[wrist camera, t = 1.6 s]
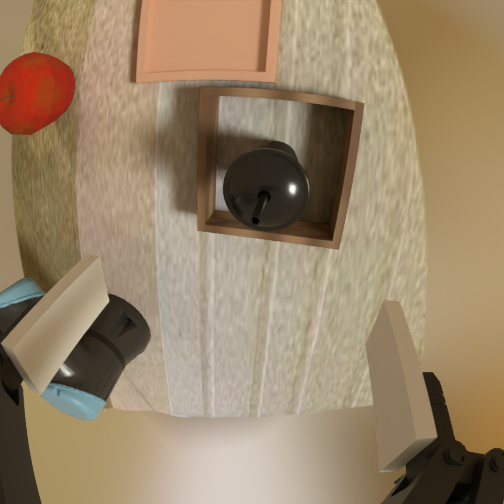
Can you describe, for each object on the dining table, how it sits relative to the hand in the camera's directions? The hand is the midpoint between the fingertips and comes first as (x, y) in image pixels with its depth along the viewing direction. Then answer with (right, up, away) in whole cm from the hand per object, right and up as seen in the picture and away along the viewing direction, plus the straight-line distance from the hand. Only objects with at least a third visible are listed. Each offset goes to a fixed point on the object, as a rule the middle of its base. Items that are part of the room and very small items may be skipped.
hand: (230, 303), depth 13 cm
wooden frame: (+4, +14, +25) cm, 29 cm away
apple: (-29, +28, +23) cm, 46 cm away
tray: (-4, +32, +16) cm, 36 cm away
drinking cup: (+4, +14, +25) cm, 29 cm away
